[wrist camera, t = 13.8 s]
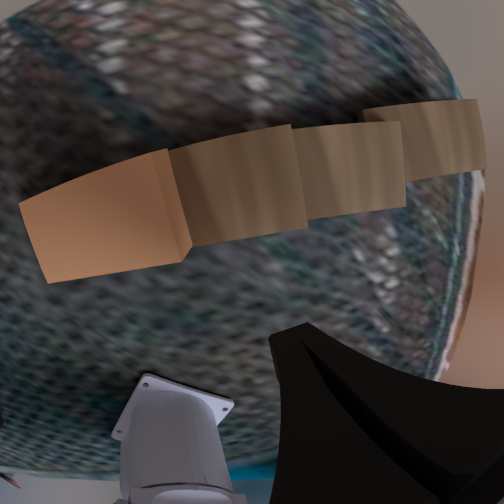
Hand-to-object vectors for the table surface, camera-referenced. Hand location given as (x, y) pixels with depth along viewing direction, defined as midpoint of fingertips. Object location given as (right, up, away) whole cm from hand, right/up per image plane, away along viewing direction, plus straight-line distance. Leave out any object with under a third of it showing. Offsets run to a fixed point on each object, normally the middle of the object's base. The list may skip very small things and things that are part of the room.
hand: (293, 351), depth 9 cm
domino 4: (+6, +10, +8) cm, 14 cm away
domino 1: (-14, +4, +5) cm, 15 cm away
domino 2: (-8, +6, +6) cm, 11 cm away
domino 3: (-2, +7, +7) cm, 10 cm away
